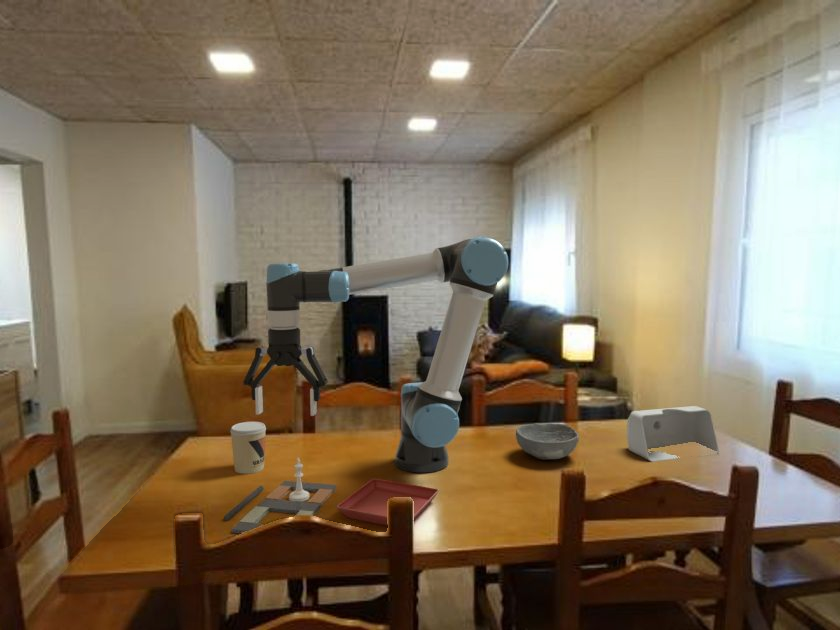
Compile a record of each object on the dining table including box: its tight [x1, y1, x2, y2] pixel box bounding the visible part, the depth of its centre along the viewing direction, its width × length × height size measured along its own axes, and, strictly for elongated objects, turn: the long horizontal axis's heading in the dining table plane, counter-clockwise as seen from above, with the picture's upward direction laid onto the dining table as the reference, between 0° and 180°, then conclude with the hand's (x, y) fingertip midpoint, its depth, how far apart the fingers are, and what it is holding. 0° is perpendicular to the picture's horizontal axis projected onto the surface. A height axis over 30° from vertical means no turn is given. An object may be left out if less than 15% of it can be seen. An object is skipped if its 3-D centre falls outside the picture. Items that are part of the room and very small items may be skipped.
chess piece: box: [288, 457, 311, 502], centre depth 132 cm, size 5×5×10 cm
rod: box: [223, 485, 264, 521], centre depth 128 cm, size 17×1×1 cm, turn 169°
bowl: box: [515, 422, 580, 461], centre depth 160 cm, size 18×18×8 cm
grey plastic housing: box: [626, 405, 720, 463], centre depth 166 cm, size 25×16×12 cm, turn 106°
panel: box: [231, 480, 337, 534], centre depth 126 cm, size 14×26×1 cm, turn 169°
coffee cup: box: [229, 421, 267, 475], centre depth 150 cm, size 9×9×12 cm
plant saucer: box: [336, 478, 440, 526], centre depth 126 cm, size 18×18×3 cm
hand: (286, 413), depth 133 cm, fingers open, 13 cm apart
